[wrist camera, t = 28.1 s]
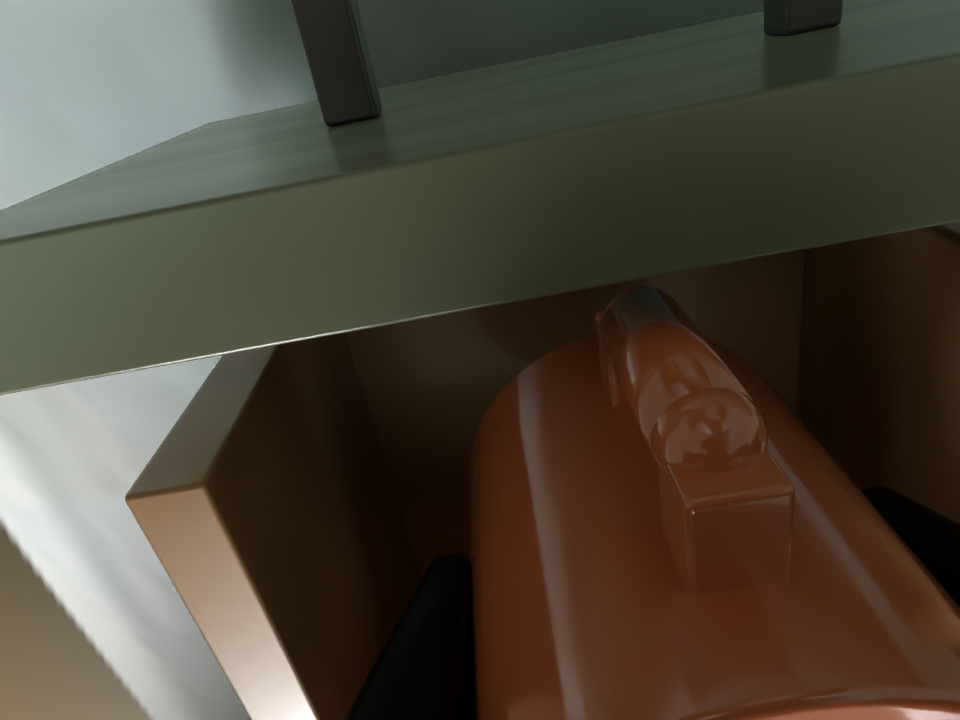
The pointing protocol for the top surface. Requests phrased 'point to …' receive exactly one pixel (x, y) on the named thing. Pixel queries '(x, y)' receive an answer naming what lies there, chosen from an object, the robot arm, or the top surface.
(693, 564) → the orange cylinder
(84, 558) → the top surface
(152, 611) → the top surface
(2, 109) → the top surface
